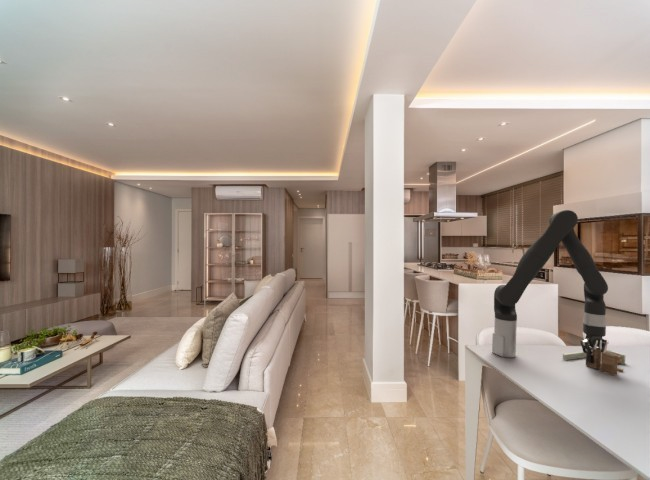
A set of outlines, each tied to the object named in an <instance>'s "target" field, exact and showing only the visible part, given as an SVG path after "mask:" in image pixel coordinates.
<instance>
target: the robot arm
mask: <svg viewBox="0 0 650 480" xmlns="http://www.w3.org/2000/svg"><path fill="white" fill-rule="evenodd" d="M578 221H579V217H578V215H577V213H576V212H575V211H573V210H570V209H564V210H562V209H561V210H559V211H556V212H555V213H553V214H552V215H551V216H550V217H549V219H548V223H549V225H548V227H547V228H546V230H545V231H544V232H543V233H542V235H540V237H538V239H536V240H535V241H534V242H533V243H532V244H531V245H530V246H529V247H528V248H527V250H526V251H525V252H524V254H523V255H522V257H520V259H519V262H518V264H517V266H516V269H515V271H514V273H513V275H512V277H511V278H510V279H509V280H508V282H506V284H500V285H498V286H497V287H496V288H495V290H494V293H493V311H494V328H493V331H494V332H493V333H492V339H491V340H492V343H491V346H492V347H491V353H493V354H494V355H497V356H499V357H502V358H516V356H517V327H518V325H517V324H518V315H517V312H516V310H517V309H516V304H517V303H519V301H520V299H521V297H522V296H523V294H524V293H525V291H526V289H527V287H528V286H529V285H530V283H531V282H532V281H533V280H534V279H535V278H536V276H537V275H538V273H540V271H541V270H542V269H543V267H544V266H545V265H546V264H547V262H548V261H549V260H550V258H551V257H552V255H553V254H554V252H555V251H556V249H557V248H558V246H559V244H560V243H562V244H563V246H564V248H565V250H566V251H567V254H568V256H569V258H570V259H571V261H572V263H573V265H574V267H575V270H576V271H577V273H578V274H579V276H581V279H582V280H583V282H584V283H583V297H584V309H583V310H584V313H583V320H582V321H583V323H582V333H584V334H585V338H584V340H583V339H581V340H580V345H581V349H582V351H583V352H584V353H587V362H588V363H591V364H593V363H594V351H595V350H596V349H600V350H601V352H602V353H603V352H604V349H605V346H606V343H607V339H605V338H603V337H606V335H607V334H606V332H607V317H606V316H607V315H606V313H607V311H606V309H607V307H606V306H607V305H606V302H605V299H604V295H605V294H607V292H608V290H609V286H608V285H609V284H608V283H607V281H606V280H605V278H604V276H603V275H602V274H601V272H600V271H599V269H598V267H597V264H596V263H595V261H594V259H593V257H592V255H591V254H590V251H589V250H588V249H587V247H585V245H584V244H583V243H582V241H581V240H580V239H579V237H578V235H577V234H576V231H575V227H576V226H577V224H578ZM591 347H593V348H591ZM590 349H591V350H590Z"/></svg>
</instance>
